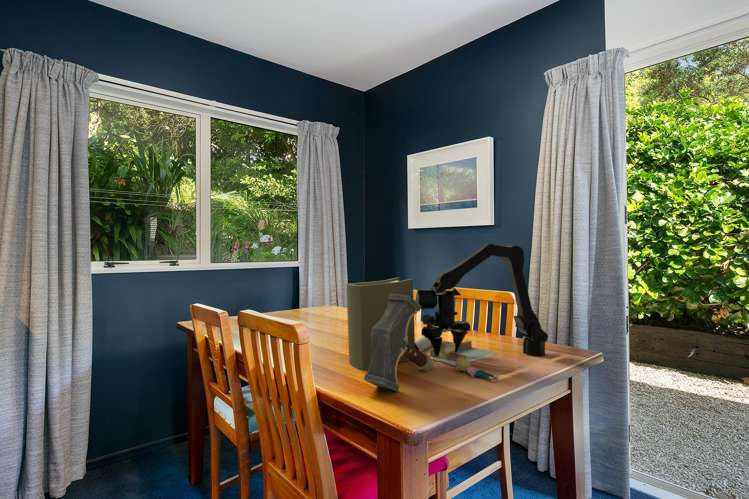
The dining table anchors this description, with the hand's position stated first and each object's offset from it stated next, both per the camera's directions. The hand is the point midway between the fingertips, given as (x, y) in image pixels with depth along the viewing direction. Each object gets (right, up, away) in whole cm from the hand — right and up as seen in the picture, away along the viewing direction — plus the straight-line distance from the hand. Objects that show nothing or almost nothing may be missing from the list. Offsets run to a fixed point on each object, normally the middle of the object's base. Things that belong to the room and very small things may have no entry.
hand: (446, 353), depth 143 cm
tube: (-6, -2, +16) cm, 18 cm away
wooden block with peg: (+2, -1, -2) cm, 3 cm away
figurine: (+6, -3, -17) cm, 18 cm away
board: (+6, -2, +3) cm, 7 cm away
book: (-23, -3, -2) cm, 23 cm away
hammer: (-16, -3, -22) cm, 27 cm away
